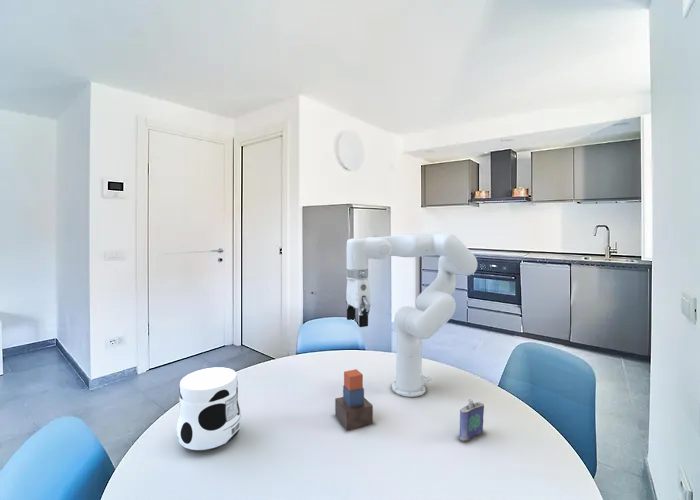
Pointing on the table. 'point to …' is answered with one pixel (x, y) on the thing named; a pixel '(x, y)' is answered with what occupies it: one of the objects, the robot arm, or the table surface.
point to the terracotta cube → (353, 380)
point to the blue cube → (353, 397)
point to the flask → (471, 421)
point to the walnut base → (353, 414)
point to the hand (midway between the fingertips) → (357, 322)
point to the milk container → (208, 409)
